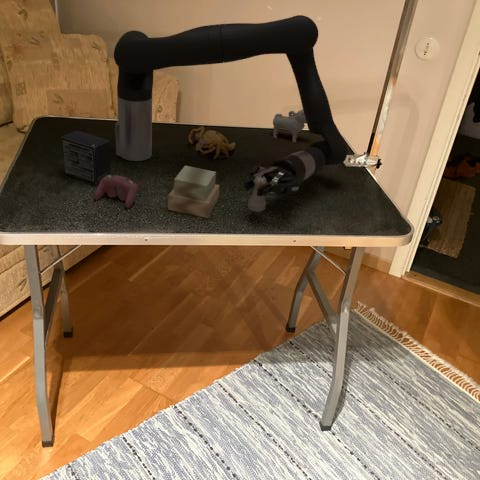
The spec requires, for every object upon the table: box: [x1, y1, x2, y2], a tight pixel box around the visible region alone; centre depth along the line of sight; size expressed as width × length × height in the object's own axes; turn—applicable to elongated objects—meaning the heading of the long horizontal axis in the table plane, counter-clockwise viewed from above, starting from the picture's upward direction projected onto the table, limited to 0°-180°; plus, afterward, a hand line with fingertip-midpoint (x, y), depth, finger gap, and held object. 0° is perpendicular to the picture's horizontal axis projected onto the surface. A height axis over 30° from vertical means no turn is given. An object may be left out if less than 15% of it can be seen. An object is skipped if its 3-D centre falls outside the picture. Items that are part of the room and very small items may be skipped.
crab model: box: [187, 125, 236, 160], centre depth 151 cm, size 16×13×6 cm
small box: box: [60, 130, 111, 186], centre depth 127 cm, size 11×6×10 cm, turn 65°
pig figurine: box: [272, 108, 307, 143], centre depth 163 cm, size 5×13×11 cm, turn 75°
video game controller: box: [93, 174, 139, 209], centre depth 120 cm, size 10×5×7 cm, turn 72°
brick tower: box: [167, 165, 221, 219], centre depth 121 cm, size 10×10×8 cm
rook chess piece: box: [246, 176, 267, 212], centre depth 117 cm, size 4×4×8 cm
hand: (252, 189), depth 114 cm, fingers closed on rook chess piece, 3 cm apart
